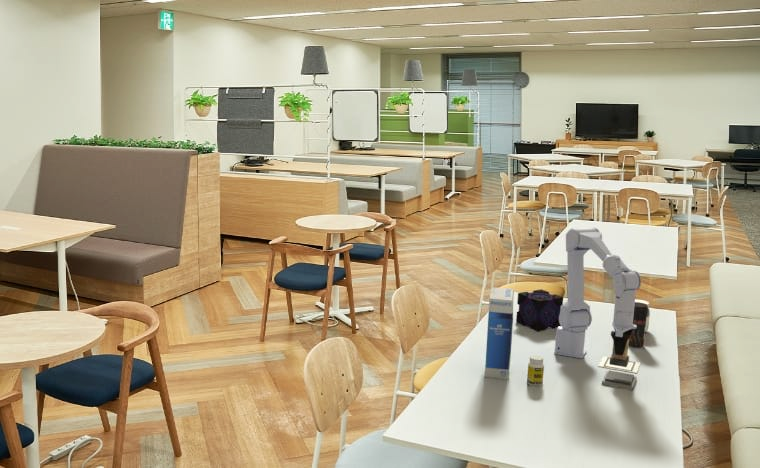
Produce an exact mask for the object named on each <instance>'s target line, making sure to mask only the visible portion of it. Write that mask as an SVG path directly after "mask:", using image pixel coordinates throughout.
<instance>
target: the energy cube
mask: <svg viewBox="0 0 760 468" xmlns="http://www.w3.org/2000/svg"><path fill="white" fill-rule="evenodd" d="M563 304H564V296H561V295H559V294H556V293H554V294H551V293H550V292H549V291H547V290H545V289H542V288H541V289H534V290H532V292H529V291H522V292H517V305H518V311H516V319H515V323H516V324H519V325H521V326H523V327H526V326H527V327H529V329H530V330H532V331H535V332H544V331H547V329H553V330H554V329H557V328H558V326H561V325H560V323H559V314H560V310H561V306H562V305H563Z"/></svg>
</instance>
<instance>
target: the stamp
mask: <svg viewBox="0 0 760 468" xmlns="http://www.w3.org/2000/svg"><path fill="white" fill-rule="evenodd" d="M612 341H613V340H612ZM628 344H629V339H628V341H627V343H626V346H625V350H624V353H623V355H616V354H615V347H614V341H613V343H612V354H611V355H610V356H609V357H610V364H611V365H616V366H622V367H627V365H628V362H629V361H630V356H629V355H628V352H629V346H628Z"/></svg>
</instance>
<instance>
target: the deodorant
mask: <svg viewBox="0 0 760 468" xmlns="http://www.w3.org/2000/svg"><path fill="white" fill-rule="evenodd" d="M647 307H648V305H647V304H644V303H640V302H635V305H634V316H633V325H637V328H636V329H633V331H632V333H631V334H630V335H631V336H630V337H629V344H628V347H631V348H635V349H636V348H637V349H638V348H643V347H645V337H646V336H645V335H646V334H645V327H646V317H647ZM648 308H649V307H648Z"/></svg>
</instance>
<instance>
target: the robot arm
mask: <svg viewBox="0 0 760 468" xmlns="http://www.w3.org/2000/svg"><path fill="white" fill-rule="evenodd" d="M590 250H591V251H592V252H593V253H594V254H595V255H596V256H597V257H598V258H599V259H600V260H601V261H602V268H603V269H604V270H605V272H606V273H607V275H609V277H610V278H611V279H612V280H611V281H612V286H613V293H614V297H615V298H614V309H613V318H612V319H613V321H612V327H613V330H611V332H610V336H611V338H612V341H614V347H615V354H616V355H623V353H624V350H625V346H626V343H627V341H628V339H629V337H630V336H631V335H630V334H631V333H632V331H633V329H636V328H637V325H633V316H634V305H635V299H636V293H637V290H639V289H640V287H641V286H642V278H641V276H640V274H639V273H638V271H636V270H632V269H630V268H629V267H628V266H627V265H626V264H625V262H624V261H623V260H622V259H621V257H620V256H619V255H616V254H612V253H611V251H610V250H609V249H608V246H606V244H605V242H604V241H603V234H602V232H601V231H600V230H599V229H598V227H585V228H582V227H581V228H570V229H569V230H568V231H567V232H566V234H565V252H566V253H567V255H566V258H567V260H566V261H567V300H566V301H565V302H563V305H562V306H561V310H560V314H559V323H560V325H561V326H558V328H556V333H555V341H554V342H555V344H554V355H560V356H565V357H571V358H577V359H583V358H584V356H585V355H586V353H587V349H585V341H586V340H585V339H586V330H588V328H589V327H590V326H591V324H592V322H593V317H592V313H591V306H590V305H589V304H588V303H587V302H586V301H584V300H585V290H584V289H585V287H584V284H585V283H584V280H585V279H584V278H585V277H584V275H585V273H584V272H585V271H584V267H585V266H584V255H585V254H587V252H588V251H590Z"/></svg>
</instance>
